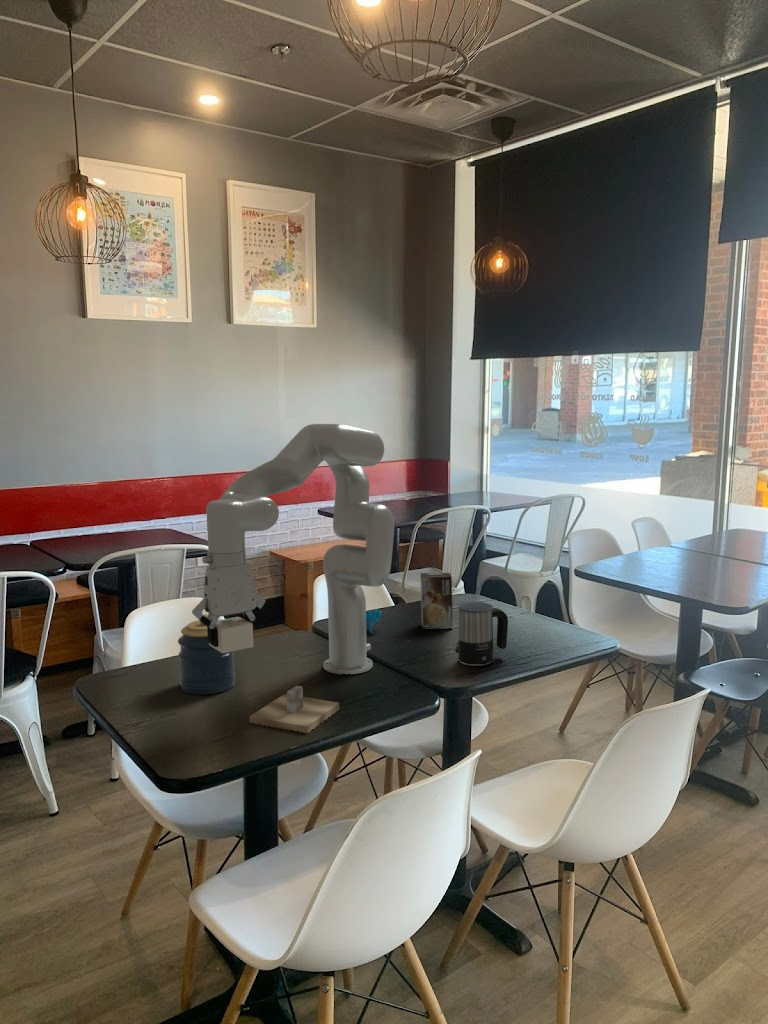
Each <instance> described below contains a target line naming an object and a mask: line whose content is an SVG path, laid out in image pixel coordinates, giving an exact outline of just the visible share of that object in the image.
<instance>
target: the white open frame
mask: <svg viewBox="0 0 768 1024" xmlns="http://www.w3.org/2000/svg"><path fill="white" fill-rule="evenodd" d="M216 628H217V630H218V647H214V646H212V645H211V644H210V643H209V645H210V646H211V647H213V648H215V649H216V650H218V651H219V652H221V653H227V652H232V651H234V652H236V651H240V650H247V649H252V648H254V647H255V646H254V643H255V642H254V633H253V631H254V623H253V624H252V623H250V622H248V621H246V620H245V618H242V617H240V616H235V617H228V618H224V619H220V620H219V619H218V621H217V623H216Z"/></svg>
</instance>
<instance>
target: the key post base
mask: <svg viewBox="0 0 768 1024" xmlns="http://www.w3.org/2000/svg"><path fill="white" fill-rule="evenodd" d="M303 689H304V688H303V686H299V685H295V686H294V687H292V688H290V689H289V690H288V691H286V694H285V693H284V694H282V695H281V696H279V697H278V698H276V699H274V700H273V701H271V702H270V703H268V704H267V705H265V706H264V707H262V708H260V709H259V710H257V711H256V712H254V713H252V714H251V715H250V716H249V723H250V724H253V723H254V725H258V724H260V726H264V725H265V726H264V727H269V726H271V727H270V728H275V727H276V729H280V728H281V730H286V729H287V731H291V730H293V732H297V731H299V732H298V733H302V732H303V734H309V733H311V730H312V729H313V730H314V729H315V728H317V727H318V726H319V725H321V724H323V722H324V720H325V721H326V720H328V719H329V718H330V717H331V716H333V715H334V714H336V713H337V712H338V711H339V710H340V702H338V701H337V702H336V701H331V700H330V701H329V700H324V699H318V698H313V697H306V696H304V691H303ZM332 714H333V715H332ZM328 717H329V718H328ZM320 723H321V724H320ZM316 726H317V727H316Z"/></svg>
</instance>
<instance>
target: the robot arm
mask: <svg viewBox="0 0 768 1024" xmlns="http://www.w3.org/2000/svg"><path fill="white" fill-rule="evenodd" d="M384 454H385V443H384V441H383V439H382V437H381V436H380V435H379V434H378V433H377V432H375V431H372V430H368V429H364V428H360V427H356V426H351V425H347V424H343V423H342V424H340V423H311V424H308V425H305V426H303V427H302V428H301V430H299V432H297V433H296V435H294V437H293V438H292V439H290V441H289V442H288V443H287V444H286V445H285V446H284V448H282V449H281V450H280V451H279V453H278V454H277V455H276V456H275V457H274V458H272V459H271V460H269V461H267V462H265V463H263V464H261V465H259V466H257V467H256V468H253V469H252V470H250V471H247V472H245V473H243V474H242V475H241V476H239V477H238V478H237V479H235V481H233V482H232V483H231V484H230V486H229V487H228V488H227V489H225V491H223V493H222V494H221V496H220V497H219V499H216V500H212V501H210V502H208V503H207V505H206V527H207V528H206V531H207V548H208V550H207V555H206V556H202V563H203V564H208V566H206V568H205V573H204V581H203V598H202V599H201V600H200V602H199V603H198V604H197V605H196V606H195V607H194V608H193V609H192V611H191V614H192V615H193V616H195V618H196V619H197V620H199V621H201V622H202V623H203V624H205V625H206V626H207V633H208V642H209V643H210V644H211V645H212V646H214V647H218V630H217V628H216V623H217V621H218V620H219V618H220V617H226V616H232V615H237V614H242V615H243V616H244V619H245V620H246V621H248V622H250V623H252V624H253V625H254V622H255V620H256V617H257V616H258V614H259V613H260V612H261V609H262V608H263V606H264V605H265V603H266V598H263V597H262V596H260V595H259V594H258V593H257V592H256V588H255V582H254V576H253V572H252V568H251V564H250V563H248V562H247V561H246V559H247V557H246V540H245V539H246V537H245V533H247V532H263V531H266V530H270V529H271V528H273V527H274V526H275V525H276V523H277V522H278V520H279V515H280V510H279V507H278V504H277V503H276V502H275V501H274V500H273V499H272V498H270V497H269V496H272V495H275V494H280V493H283V492H288V491H290V490H293V489H296V488H298V487H301V486H302V484H304V483H305V482H306V480H307V479H308V478H309V477H310V476H311V475H312V473H313V472H314V471H315V470H316V468H317V467H318V466H320V464H321V463H322V462H324V461H325V462H326V463H327V465H328V467H330V470H331V471H332V474H333V476H334V480H335V496H334V497H335V498H334V505H333V516H332V517H333V518H332V529H333V532H334V533H335V535H336V536H337V537H339V538H340V539H345V540H351V541H359V542H366V543H365V544H366V545H365V546H361V545H353V544H336V545H333V546H331V547H329V548H328V549H326V550H327V551H326V552H325V554H324V556H323V560H322V568H323V573H324V578H325V583H326V589H327V612H328V613H327V615H328V618H327V619H328V656H329V658H328V659H325V660H324V662H323V664H322V665H323V669H324V670H325V671H327V673H329V674H330V673H331V674H333V675H334V674H335V675H342V674H346V675H345V676H347V675H348V674H350V675H357V674H363V673H365V672H369V671H370V670H371V669H372V668H373V666H374V665H373V664H374V663H373V660H372V659H371V658H369V657H367V654H368V653H367V652H368V651H370V650H371V649H372V645H371V644H370V643H368V642H367V627H366V614H367V613H366V611H367V609H366V608H367V605H366V604H367V602H366V601H367V599H366V595H365V592H364V590H363V588H362V586H364V587H370V588H371V587H372V588H373V587H374V588H375V587H377V588H378V587H381V586H383V585H384V584H385V583H386V582H387V581H388V579H389V577H390V573H391V568H392V559H393V548H394V537H395V519H394V514H393V513H392V510H391V509H390V508H389V507H387V506H386V505H384V504H381V503H375V502H373V503H371V502H370V479H369V476H368V474H367V472H366V470H365V467H369V468H370V467H374V466H376V465H378V464H379V463H380V462H381V461H382V459H383V457H384ZM203 611H204V612H206V613H208V614H207V615H208V616H207V618H206V617H205V616H204V613H203ZM253 634H254V630H253ZM348 676H349V675H348Z"/></svg>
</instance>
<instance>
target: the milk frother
mask: <svg viewBox="0 0 768 1024" xmlns="http://www.w3.org/2000/svg"><path fill="white" fill-rule="evenodd" d="M457 609H458V642H456V645H455V647H456V650H457V649H459V650H458V658H459V660H460V661H461V662H464V663H467V664H486V663H489V662H491V661H493V662H494V659H493V657H494V656H493V654H494V632H493V631H494V629H493V628H494V627H493V625H494V623H493V620H494V619H493V618H497V619H496V620H497V624H496V625H497V626H496V631H497V632H496V646H497V647H498V648H499V649H500V650H504V649H506V648H507V642H508V628H509V627H508V626H509V625H508V624H509V620H508V619H509V618H508V615H507V614H506V612H505V611H503V610H502V609H500V608H497V607H494V606H493V605H492V604H491V603H487V602H481V601H480V602H479V601H478V602H477V601H473V602H472V601H471V602H469V601H468V602H464V603H460V604H459V605H457Z"/></svg>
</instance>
